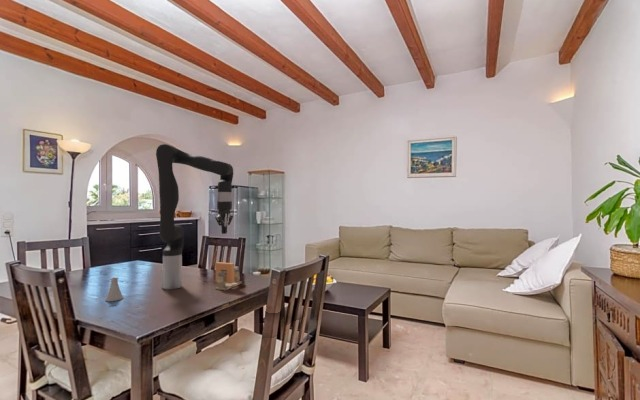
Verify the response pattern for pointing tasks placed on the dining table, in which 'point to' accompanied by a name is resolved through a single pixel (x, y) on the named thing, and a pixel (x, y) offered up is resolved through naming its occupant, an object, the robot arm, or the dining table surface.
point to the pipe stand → (222, 280)
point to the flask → (114, 291)
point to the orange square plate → (229, 271)
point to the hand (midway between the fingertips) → (224, 233)
